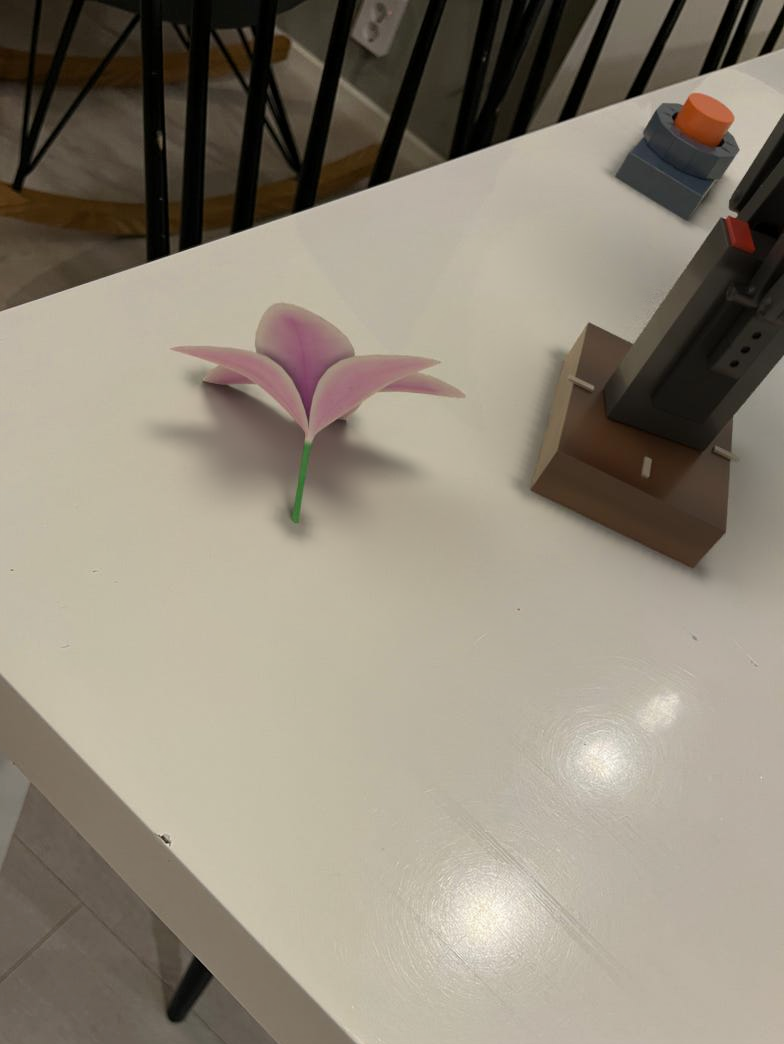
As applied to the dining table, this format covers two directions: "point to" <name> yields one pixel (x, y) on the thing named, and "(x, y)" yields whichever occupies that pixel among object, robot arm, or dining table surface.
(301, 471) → the lily
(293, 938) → the dining table surface
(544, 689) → the dining table surface
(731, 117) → the button
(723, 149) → the button box
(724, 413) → the open box
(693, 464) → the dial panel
